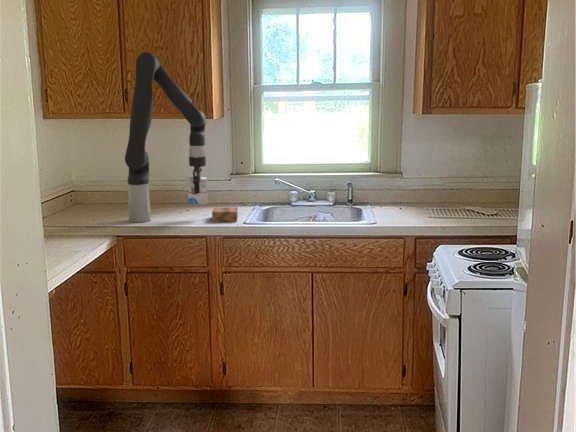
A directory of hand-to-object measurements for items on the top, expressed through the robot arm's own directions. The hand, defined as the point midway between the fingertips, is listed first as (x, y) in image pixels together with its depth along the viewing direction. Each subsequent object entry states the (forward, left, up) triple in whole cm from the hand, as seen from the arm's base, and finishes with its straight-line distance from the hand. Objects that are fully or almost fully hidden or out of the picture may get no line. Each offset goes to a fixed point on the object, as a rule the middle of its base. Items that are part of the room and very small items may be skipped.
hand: (197, 192), depth 266 cm
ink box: (0, 0, -5) cm, 5 cm away
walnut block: (+12, 0, -13) cm, 18 cm away
